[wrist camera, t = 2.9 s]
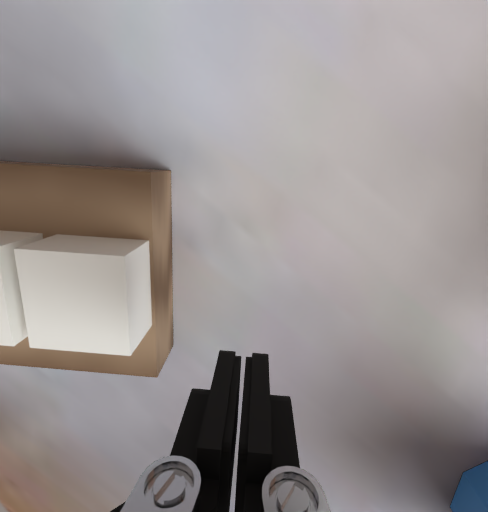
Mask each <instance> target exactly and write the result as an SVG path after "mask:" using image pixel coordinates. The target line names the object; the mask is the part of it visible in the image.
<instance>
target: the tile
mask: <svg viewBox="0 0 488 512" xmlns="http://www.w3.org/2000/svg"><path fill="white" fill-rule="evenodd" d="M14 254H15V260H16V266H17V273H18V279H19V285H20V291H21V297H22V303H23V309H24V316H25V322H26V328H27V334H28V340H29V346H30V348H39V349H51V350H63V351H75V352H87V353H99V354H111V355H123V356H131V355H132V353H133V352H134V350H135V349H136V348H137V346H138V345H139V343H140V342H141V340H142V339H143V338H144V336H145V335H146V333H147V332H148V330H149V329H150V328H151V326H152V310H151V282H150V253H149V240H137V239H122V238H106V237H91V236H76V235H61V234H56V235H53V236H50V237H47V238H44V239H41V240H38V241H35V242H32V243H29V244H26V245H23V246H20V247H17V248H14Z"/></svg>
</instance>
